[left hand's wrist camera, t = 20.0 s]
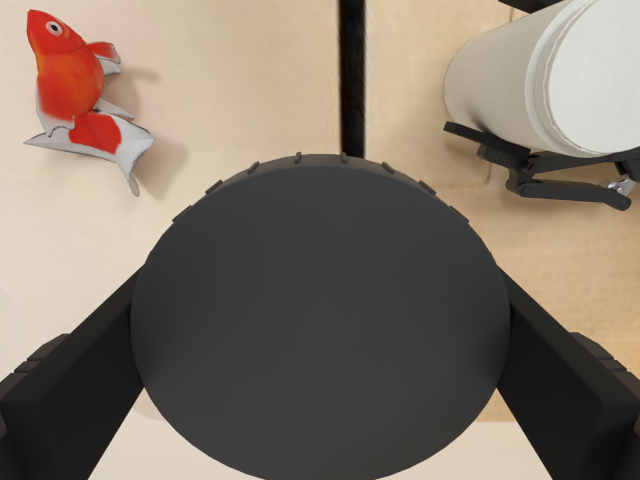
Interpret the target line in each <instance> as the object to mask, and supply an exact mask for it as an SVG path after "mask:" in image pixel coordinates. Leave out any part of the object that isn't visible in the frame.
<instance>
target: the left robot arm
mask: <svg viewBox="0 0 640 480" xmlns="http://www.w3.org/2000/svg"><path fill="white" fill-rule="evenodd" d="M143 266H144V265H143ZM143 266H142V267H141V268H140V269H138V270H137V271H136V272H135V273H134V274H133V275H132V276H131V277H130V278H129V279H128V280H127V281H126V282H125V283H124V284H123V285H121V286H120V287H119V288H118V289H117V290H116V291H115V292H114V293H113V294H112V295H111V296H110V297H109V298H108V299H107V300H105V301H104V302H103V303H102V304H101V305H100V306H99V307H98V308H97V309H96V310H95V311H94V312H93V313H92V314H91V315H89V316H88V317H87V318H86V319H85V320H84V321H83V322H82V323H81V324H80V325H79V326H78V327H77V328H76V329H75V330H73V331H72V332H71V333H70V334H61V335H60V336H58V337H56V338H54V339H53V340H51V341H49V342H47V343H45V344H43V345H42V346H41V347H40V348H39V349H37V350H36V351H35V352H34V353H33V354H32V355H31V356H29V357H28V358H27V361H24V362H23V363H22V364H20V365H19V366H18V367H17V368H16V369H15V370H14V373H10V374H9V375H8V376H7V377H6V378H5V379H4V380H2V381H1V382H0V480H88V478H89V477H90V475H91V473H92V472H93V470H94V468H95V467H96V465H97V463H98V462H99V460H100V458H101V457H102V455H103V454H104V452H105V450H106V449H107V447H108V445H109V444H110V442H111V441H112V439H113V437H114V436H115V434H116V432H117V431H118V429H119V427H120V426H121V424H122V422H123V421H124V419H125V417H126V416H127V414H128V413H129V411H130V409H131V408H132V406H133V404H134V403H135V401H136V400H137V398H138V396H139V395H140V393H141V391H142V390H143V388H144V385H143V383H142V381H141V379H140V376H139V373H138V370H137V367H136V364H135V360H134V355H133V350H132V345H131V339H130V314H131V306H132V298H133V294H134V291H135V287H136V284H137V280H138V277H139V274H140V272H141V270H142V268H143ZM497 266H498V265H497ZM498 269H499V271H500V273H501V276H502V278H503V280H504V284H505V288H506V292H507V296H508V300H509V307H510V318H511V332H510V343H509V348H508V353H507V357H506V362H505V367H504V370H503V372H502V375H501V378H500V380H499V383H498V385H497V387H496V388H497V389H498V391H499V393H500V394H501V396H502V398H503V399H504V401H505V402H506V404H507V406H508V407H509V409H510V411H511V412H512V414H513V416H514V417H515V419H516V420H517V422H518V424H519V425H520V427H521V429H522V430H523V432H524V434H525V435H526V437H527V438H528V440H529V442H530V443H531V445H532V447H533V448H534V450H535V452H536V453H537V455H538V456H539V458H540V460H541V461H542V463H543V465H544V466H545V468H546V470H547V471H548V473H549V474H550V476H551V478H552V479H553V480H640V380H639V379H638V378H637V377H636V376H634V375H633V374H632V373H631V372H627V369H626V368H625V367H624V366H623V365H622V364H621V363H620V362H618V361H617V360H614V357H613V356H612V355H611V354H609V353H608V352H607V351H606V350H605V349H604V348H603V347H601V346H600V345H599V344H598V343H596V342H594V341H592V340H591V339H589V338H587V337H585V336H583V335H582V334H580V333H578V332H568V331H567V330H566V329H565V328H564V327H563V326H561V325H560V324H559V323H558V322H557V321H556V320H555V319H554V318H553V317H552V316H551V315H550V314H549V313H548V312H547V311H545V310H544V309H543V308H542V307H541V306H540V305H539V304H538V303H537V302H536V301H535V300H534V299H533V298H532V297H531V296H529V295H528V294H527V293H526V292H525V291H524V290H523V289H522V288H521V287H520V286H519V285H518V284H517V283H516V282H515V281H514V280H512V279H511V278H510V277H509V276H508V275H507V274H506V273H505V272H504V271H503V270H502V269H501V268H500V267H499V266H498Z"/></svg>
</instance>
